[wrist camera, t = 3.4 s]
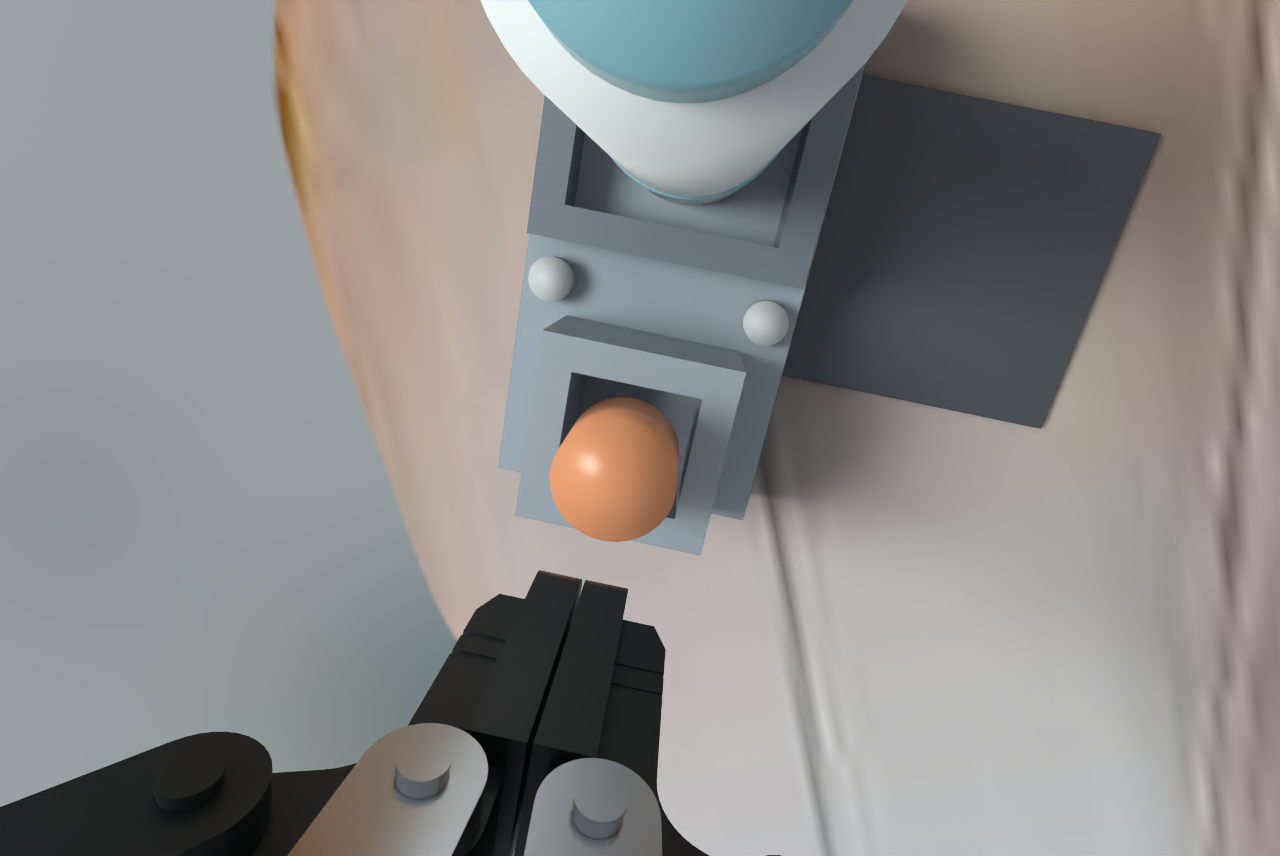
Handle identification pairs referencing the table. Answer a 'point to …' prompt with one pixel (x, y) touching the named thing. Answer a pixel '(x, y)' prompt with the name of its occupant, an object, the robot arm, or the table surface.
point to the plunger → (616, 470)
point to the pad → (962, 249)
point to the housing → (663, 311)
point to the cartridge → (691, 77)
